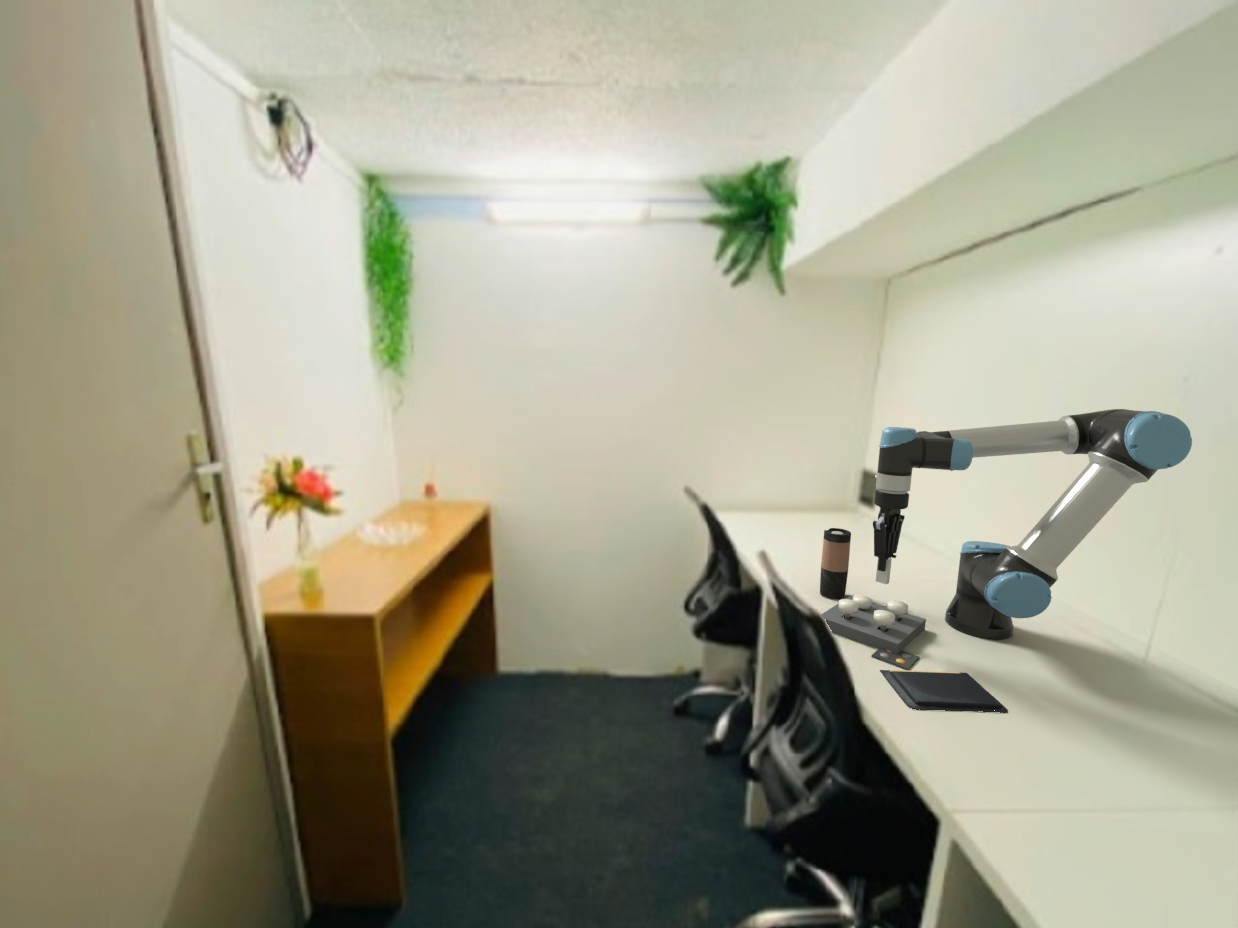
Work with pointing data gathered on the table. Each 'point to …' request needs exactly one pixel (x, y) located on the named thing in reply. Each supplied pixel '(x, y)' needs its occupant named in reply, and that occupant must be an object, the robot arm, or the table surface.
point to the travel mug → (835, 563)
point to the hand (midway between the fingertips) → (882, 582)
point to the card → (896, 658)
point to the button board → (875, 628)
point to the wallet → (941, 691)
